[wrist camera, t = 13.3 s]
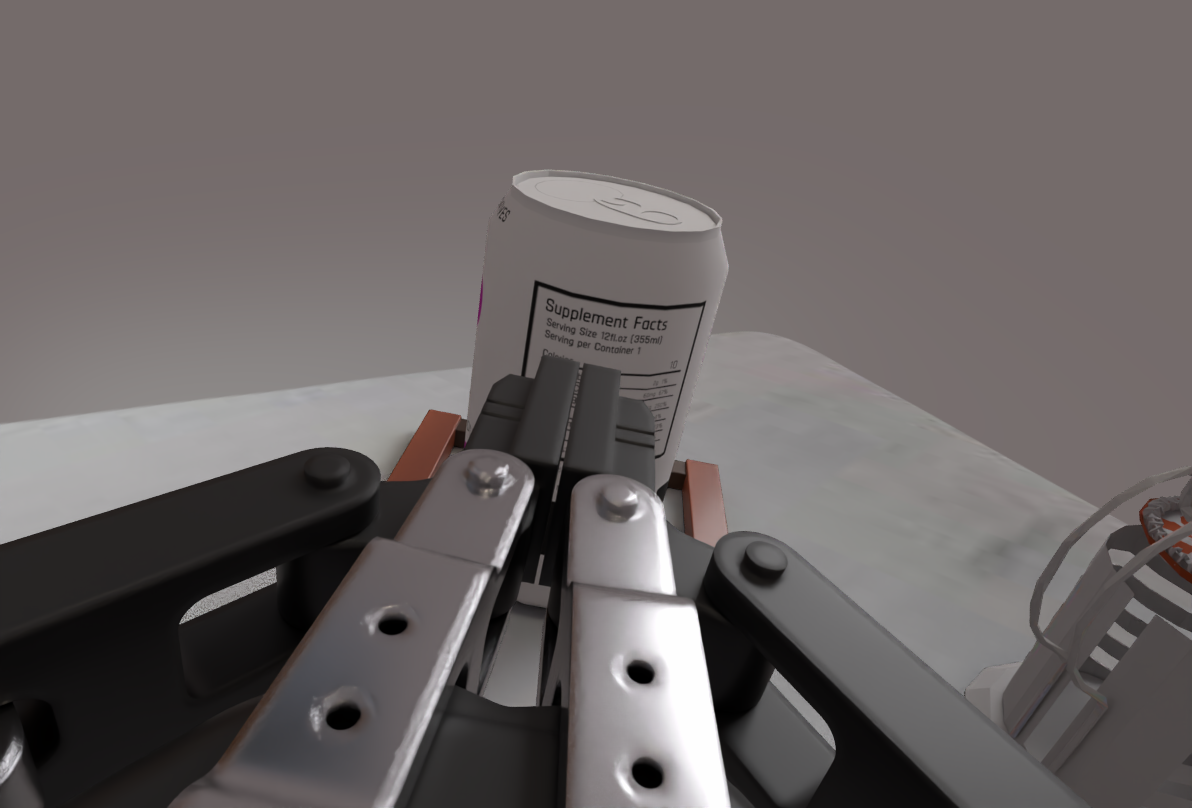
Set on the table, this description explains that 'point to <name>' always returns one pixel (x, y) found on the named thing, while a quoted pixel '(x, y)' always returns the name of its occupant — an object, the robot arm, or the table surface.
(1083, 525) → the french press
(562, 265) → the supplement can
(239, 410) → the table surface
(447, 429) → the slide track
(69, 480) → the table surface
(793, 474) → the table surface
